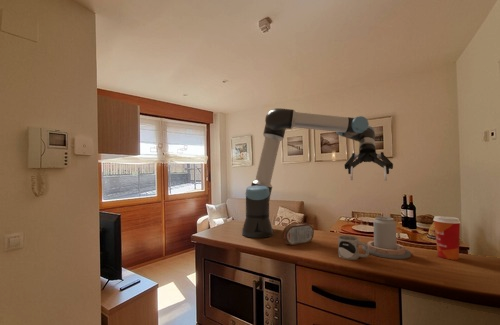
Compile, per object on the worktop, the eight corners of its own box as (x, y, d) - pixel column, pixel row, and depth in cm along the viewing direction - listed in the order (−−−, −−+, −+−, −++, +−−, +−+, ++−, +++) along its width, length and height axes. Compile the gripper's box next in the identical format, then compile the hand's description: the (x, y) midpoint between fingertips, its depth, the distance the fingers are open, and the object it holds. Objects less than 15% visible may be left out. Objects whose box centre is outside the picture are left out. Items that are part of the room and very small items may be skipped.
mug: (336, 257, 82) (336, 238, 83) (340, 252, 88) (340, 234, 88) (367, 263, 77) (367, 243, 77) (370, 257, 82) (370, 238, 83)
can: (390, 246, 92) (389, 215, 93) (401, 252, 85) (399, 219, 86) (370, 245, 93) (370, 215, 94) (379, 252, 86) (378, 219, 86)
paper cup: (432, 252, 88) (431, 214, 89) (459, 255, 84) (457, 216, 85) (436, 258, 81) (434, 218, 82) (465, 262, 78) (463, 220, 78)
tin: (310, 240, 104) (310, 221, 104) (315, 242, 101) (314, 222, 101) (282, 244, 97) (281, 224, 98) (286, 247, 94) (286, 226, 95)
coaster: (356, 251, 88) (356, 245, 88) (368, 242, 100) (368, 237, 100) (407, 262, 78) (407, 255, 78) (414, 250, 89) (413, 244, 90)
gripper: (395, 152, 115) (400, 184, 100) (341, 154, 126) (339, 183, 112) (396, 140, 110) (401, 172, 96) (340, 143, 121) (337, 172, 107)
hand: (368, 178), depth 104 cm, fingers open, 13 cm apart
